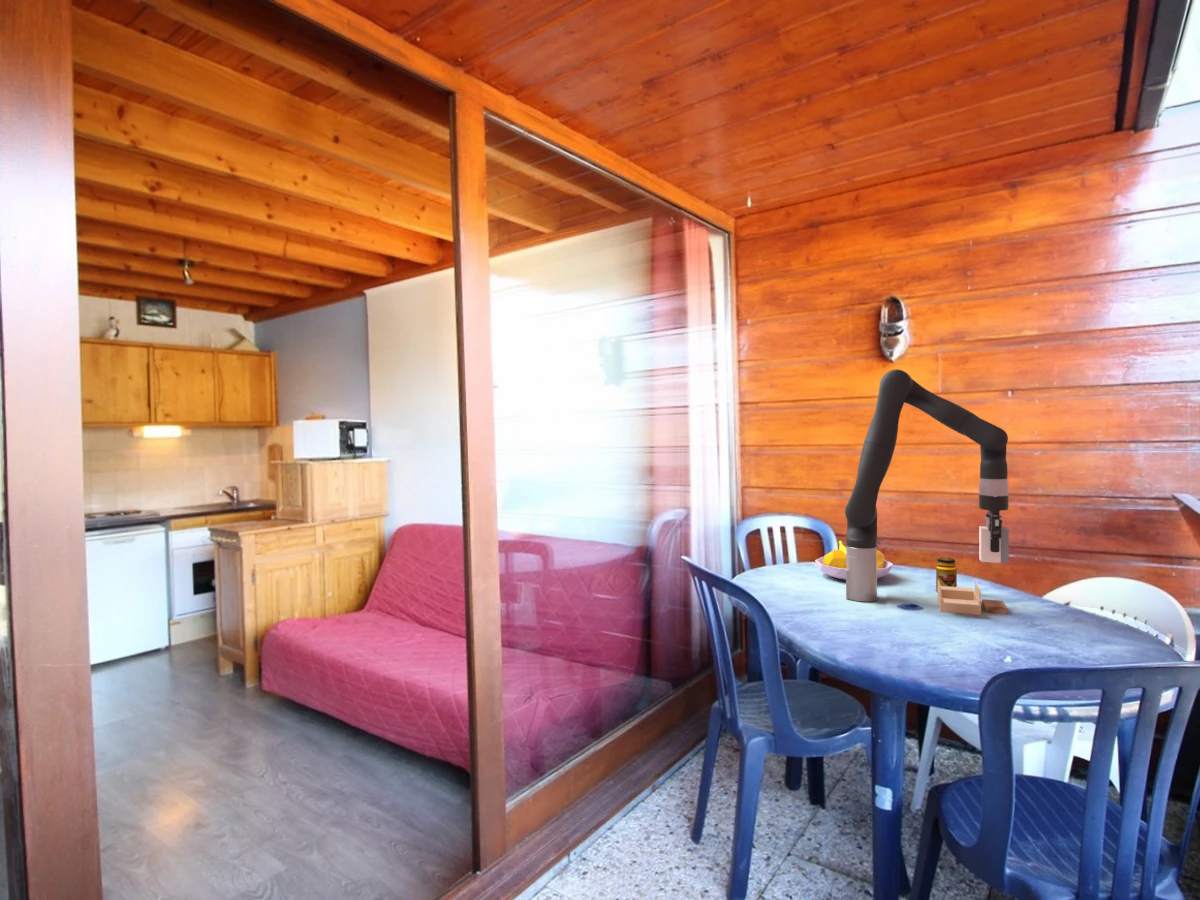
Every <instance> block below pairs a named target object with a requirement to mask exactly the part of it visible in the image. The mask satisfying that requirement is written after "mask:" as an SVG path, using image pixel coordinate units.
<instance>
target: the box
mask: <svg viewBox="0 0 1200 900" xmlns="http://www.w3.org/2000/svg"><path fill="white" fill-rule="evenodd" d="M978 528H979V530H978V531H979V533H978V534H979V535H978V537H979V538H978V540H979V541H978V547H979V548H978V549H979V550H978V551H979V554H978V556H979V557H978V558H979V561H980V562H981V563H993V564H994V563H995V564H1009V563H1010V561H1009V558H1010V557H1009V553H1010V552H1009V551H1010V549H1009V548H1010V547H1009V545H1010V544H1009V541H1010V538H1009V537H1010V536H1009V533H1010V531H1009V528H1008V527H1007V526H1006V527H1002V531H1001V536H1002V537H1001V539H1000V540H999V552H991V550H990V531H988V527H986V525H985V526H983V525H982V526H980V525H979V527H978ZM994 534H998V532H995V531H994Z"/></svg>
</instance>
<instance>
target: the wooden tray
mask: <svg viewBox="0 0 1200 900" xmlns="http://www.w3.org/2000/svg"><path fill="white" fill-rule="evenodd" d="M936 593H937V594H936V595H937V604H938V609H939V611H940V612H942V613H952V614H965V615H977V616H982V599H981V598H982V597H981V596H982V595H981V594H982V593H981V588H980V587H979V585H978V583H977V582H974V590H973V589H972V587H961V586H960V587H959V586H957V587H948V586H941V585H940V582H939V580H938V589H937V592H936Z"/></svg>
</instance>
